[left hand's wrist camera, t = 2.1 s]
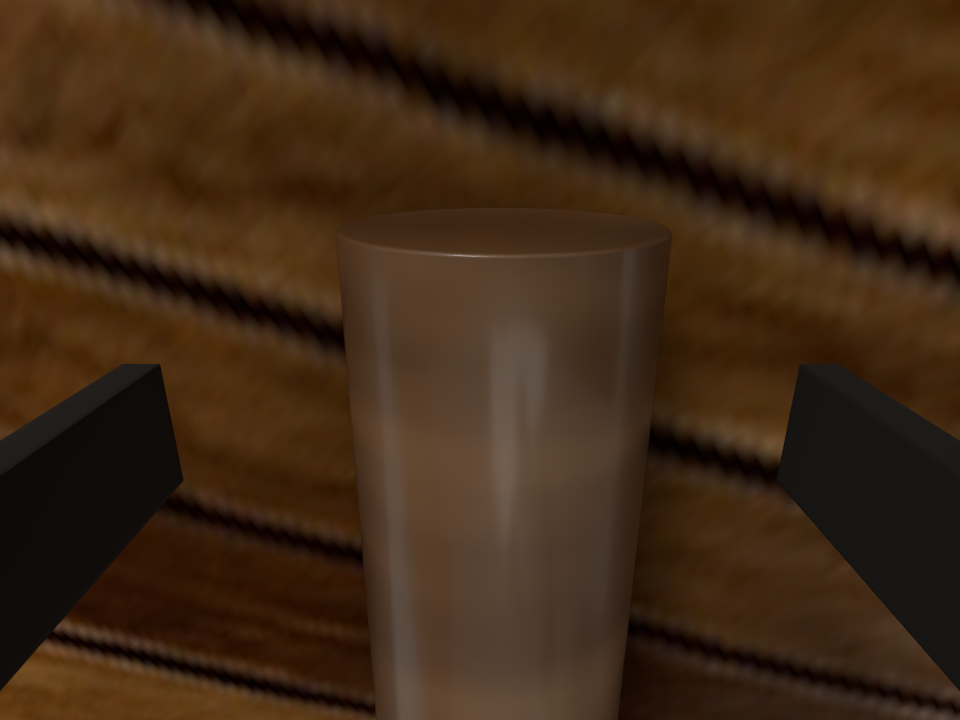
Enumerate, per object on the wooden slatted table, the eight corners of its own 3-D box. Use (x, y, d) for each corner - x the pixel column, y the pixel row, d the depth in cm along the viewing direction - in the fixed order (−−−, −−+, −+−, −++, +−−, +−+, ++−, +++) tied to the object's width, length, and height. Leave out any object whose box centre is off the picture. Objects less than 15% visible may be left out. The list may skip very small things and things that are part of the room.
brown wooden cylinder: (371, 206, 19) (287, 253, 11) (630, 207, 18) (726, 255, 11) (403, 721, 26) (367, 956, 19) (585, 725, 26) (623, 963, 19)
